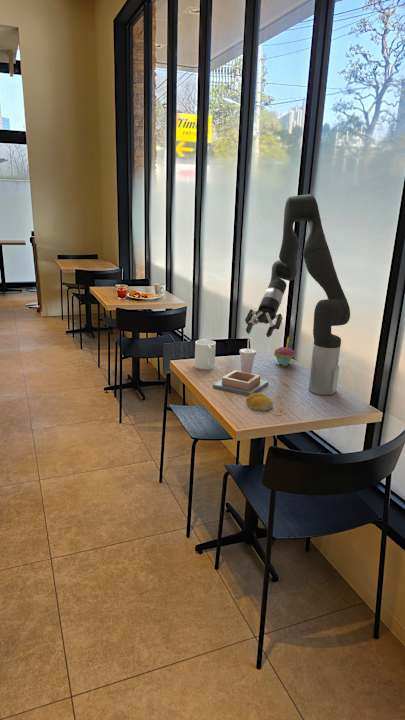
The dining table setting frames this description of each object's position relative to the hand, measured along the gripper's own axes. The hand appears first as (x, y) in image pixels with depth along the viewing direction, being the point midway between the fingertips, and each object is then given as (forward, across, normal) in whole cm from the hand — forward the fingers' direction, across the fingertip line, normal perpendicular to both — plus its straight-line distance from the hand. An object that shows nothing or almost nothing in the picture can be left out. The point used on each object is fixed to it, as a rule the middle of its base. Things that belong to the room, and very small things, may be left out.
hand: (257, 334), depth 191 cm
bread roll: (+35, +17, -14) cm, 41 cm away
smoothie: (+16, 0, +4) cm, 17 cm away
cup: (+18, -17, +3) cm, 25 cm away
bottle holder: (+25, +4, -5) cm, 26 cm away
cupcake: (+1, +7, +20) cm, 21 cm away
